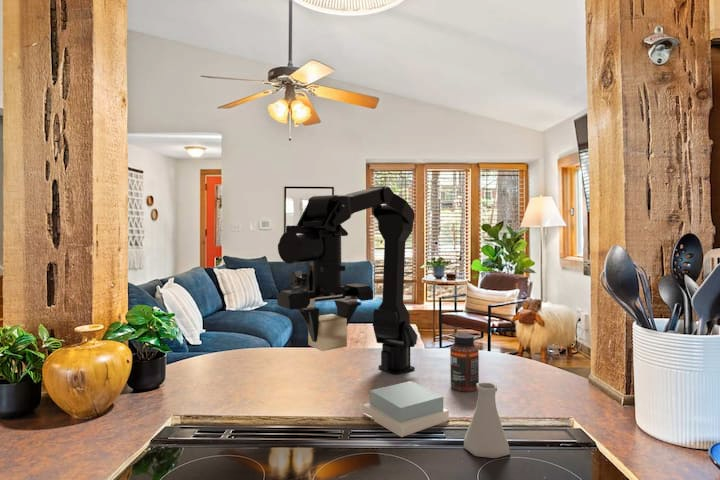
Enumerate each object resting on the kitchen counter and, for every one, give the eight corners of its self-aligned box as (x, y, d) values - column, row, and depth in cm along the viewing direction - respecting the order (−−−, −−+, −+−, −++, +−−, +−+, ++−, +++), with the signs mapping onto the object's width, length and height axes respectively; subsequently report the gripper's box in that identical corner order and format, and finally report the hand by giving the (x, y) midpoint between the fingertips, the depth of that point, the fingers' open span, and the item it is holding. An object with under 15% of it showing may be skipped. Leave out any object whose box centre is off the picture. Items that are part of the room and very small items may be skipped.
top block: (410, 393, 90) (410, 380, 90) (443, 410, 82) (443, 396, 82) (370, 403, 85) (370, 390, 85) (400, 422, 77) (400, 408, 77)
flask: (456, 438, 75) (457, 378, 75) (499, 436, 76) (500, 376, 75) (471, 461, 68) (471, 394, 68) (518, 458, 69) (519, 393, 68)
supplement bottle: (481, 385, 100) (481, 333, 99) (475, 394, 94) (476, 340, 94) (453, 381, 102) (453, 330, 102) (447, 390, 97) (447, 337, 96)
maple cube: (332, 340, 94) (331, 313, 93) (346, 346, 89) (346, 318, 89) (308, 344, 90) (308, 317, 90) (322, 351, 86) (322, 322, 86)
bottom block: (408, 404, 91) (408, 391, 91) (448, 424, 82) (448, 410, 82) (363, 417, 85) (363, 404, 85) (401, 441, 76) (401, 426, 76)
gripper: (344, 255, 101) (344, 325, 102) (265, 259, 90) (266, 338, 91) (374, 258, 92) (374, 335, 93) (290, 263, 81) (291, 350, 82)
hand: (327, 339), depth 90 cm, fingers closed on maple cube, 5 cm apart
